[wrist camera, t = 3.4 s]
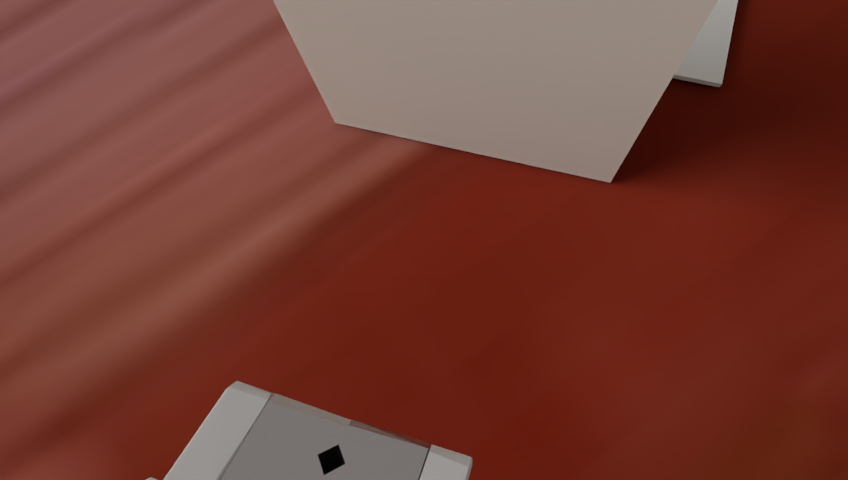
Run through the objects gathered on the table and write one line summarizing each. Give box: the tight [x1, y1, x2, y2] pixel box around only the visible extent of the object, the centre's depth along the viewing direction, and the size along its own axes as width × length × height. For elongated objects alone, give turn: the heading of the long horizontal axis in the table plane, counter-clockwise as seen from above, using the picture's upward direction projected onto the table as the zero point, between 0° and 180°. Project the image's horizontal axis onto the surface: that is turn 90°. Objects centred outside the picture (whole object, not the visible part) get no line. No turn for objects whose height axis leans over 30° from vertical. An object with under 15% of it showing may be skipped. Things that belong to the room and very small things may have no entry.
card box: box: [273, 0, 718, 183], centre depth 22 cm, size 4×10×14 cm, turn 76°
